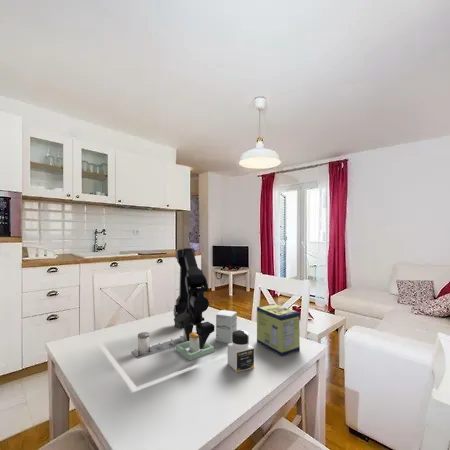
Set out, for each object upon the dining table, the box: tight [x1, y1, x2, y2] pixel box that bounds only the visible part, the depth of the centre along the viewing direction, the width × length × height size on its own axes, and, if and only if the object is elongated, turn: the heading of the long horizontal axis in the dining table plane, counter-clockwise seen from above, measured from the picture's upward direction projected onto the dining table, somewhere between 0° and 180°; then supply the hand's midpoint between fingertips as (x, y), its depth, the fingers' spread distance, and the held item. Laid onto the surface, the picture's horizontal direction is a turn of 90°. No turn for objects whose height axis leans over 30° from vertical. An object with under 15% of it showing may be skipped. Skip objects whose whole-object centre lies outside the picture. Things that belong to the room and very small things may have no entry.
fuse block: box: [131, 328, 194, 359], centre depth 106 cm, size 27×7×8 cm, turn 129°
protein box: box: [256, 303, 301, 357], centre depth 109 cm, size 10×16×16 cm
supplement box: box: [215, 309, 238, 346], centre depth 114 cm, size 7×7×13 cm
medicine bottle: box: [227, 329, 255, 373], centre depth 93 cm, size 7×7×12 cm
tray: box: [175, 341, 215, 361], centre depth 102 cm, size 11×11×3 cm
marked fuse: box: [188, 331, 201, 353], centre depth 102 cm, size 4×4×7 cm
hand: (194, 344), depth 102 cm, fingers open, 9 cm apart
